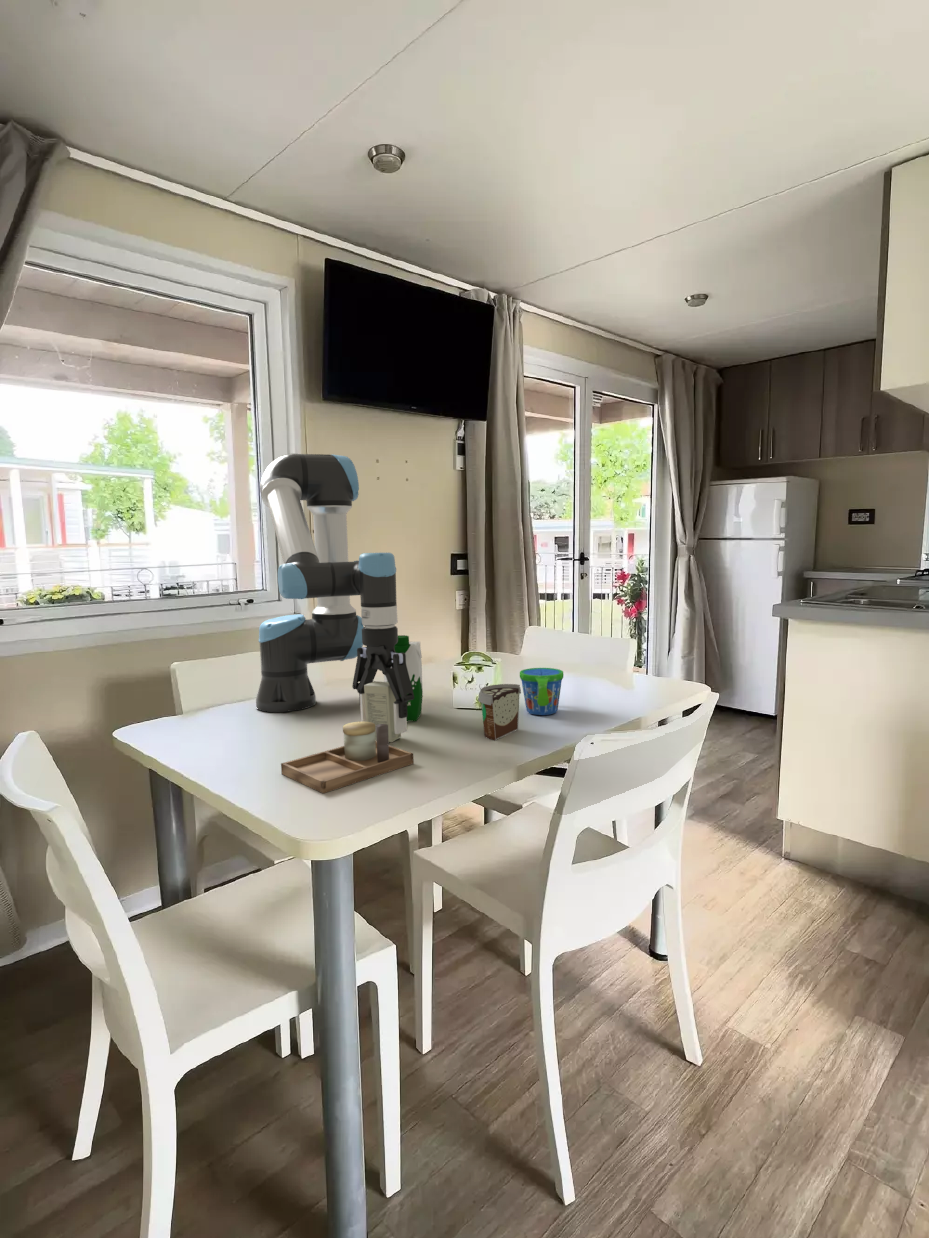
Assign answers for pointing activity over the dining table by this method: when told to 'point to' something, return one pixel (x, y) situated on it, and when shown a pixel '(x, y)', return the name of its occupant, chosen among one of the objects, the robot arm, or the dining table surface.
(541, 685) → the snack cup
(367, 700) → the skincare box
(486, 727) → the food container
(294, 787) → the dining table surface
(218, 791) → the dining table surface
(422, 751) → the dining table surface
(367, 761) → the organizer
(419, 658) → the milk carton
